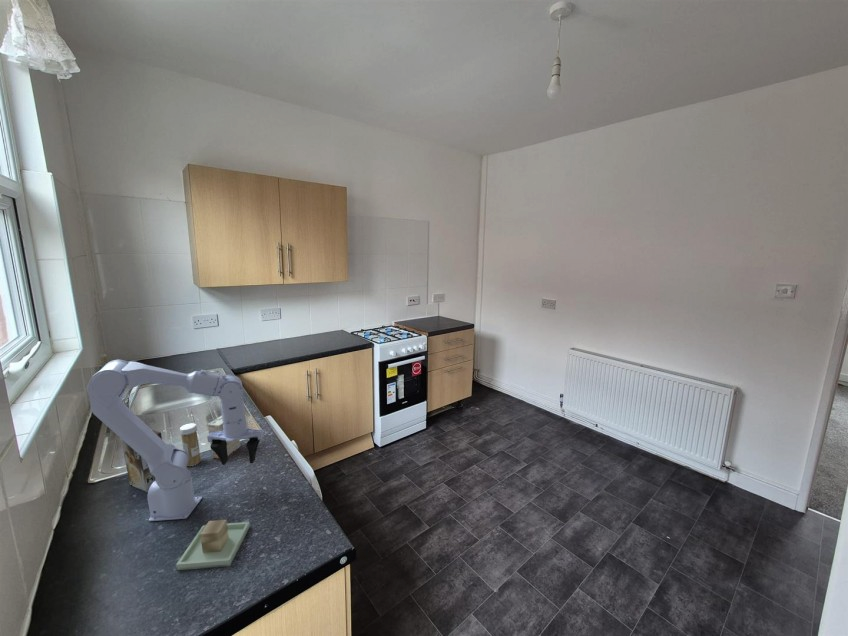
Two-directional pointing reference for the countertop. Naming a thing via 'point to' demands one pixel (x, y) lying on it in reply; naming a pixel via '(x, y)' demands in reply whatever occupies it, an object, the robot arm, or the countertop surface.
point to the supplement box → (218, 426)
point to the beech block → (214, 536)
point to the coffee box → (138, 467)
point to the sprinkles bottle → (190, 443)
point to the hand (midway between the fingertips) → (239, 462)
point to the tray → (198, 559)
